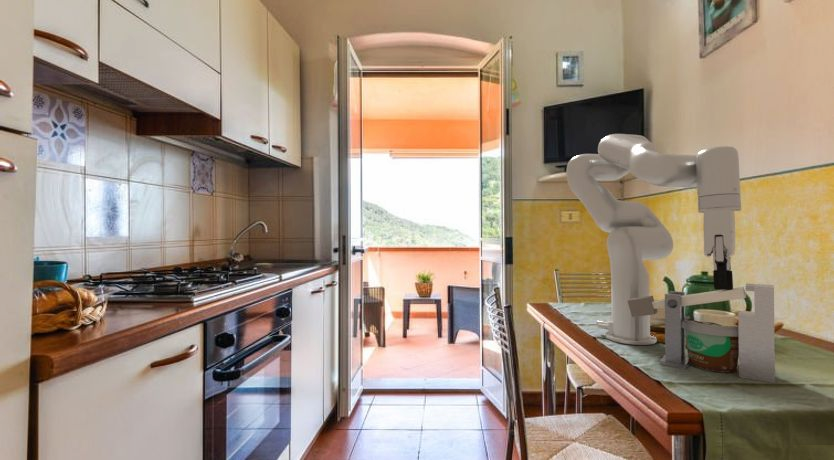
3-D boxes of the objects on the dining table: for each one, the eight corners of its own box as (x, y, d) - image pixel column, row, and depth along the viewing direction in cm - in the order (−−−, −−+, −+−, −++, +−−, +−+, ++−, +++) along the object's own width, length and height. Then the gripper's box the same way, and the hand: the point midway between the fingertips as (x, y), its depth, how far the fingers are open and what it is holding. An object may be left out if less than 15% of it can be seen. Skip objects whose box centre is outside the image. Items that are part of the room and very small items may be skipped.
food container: (669, 360, 95) (668, 317, 95) (687, 357, 97) (687, 315, 97) (725, 377, 83) (724, 329, 83) (744, 373, 86) (744, 326, 86)
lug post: (739, 376, 84) (738, 285, 84) (740, 370, 88) (739, 283, 88) (774, 383, 81) (773, 287, 81) (774, 376, 85) (773, 285, 85)
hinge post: (659, 364, 92) (659, 294, 93) (666, 356, 99) (665, 290, 99) (685, 369, 89) (685, 296, 89) (691, 360, 95) (690, 292, 95)
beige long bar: (632, 317, 98) (627, 300, 99) (635, 314, 101) (630, 298, 102) (747, 302, 84) (740, 283, 85) (748, 300, 87) (741, 282, 87)
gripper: (702, 208, 97) (706, 285, 96) (693, 203, 85) (698, 291, 84) (742, 205, 92) (747, 287, 91) (739, 200, 80) (744, 293, 79)
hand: (723, 289), depth 88 cm, fingers closed
